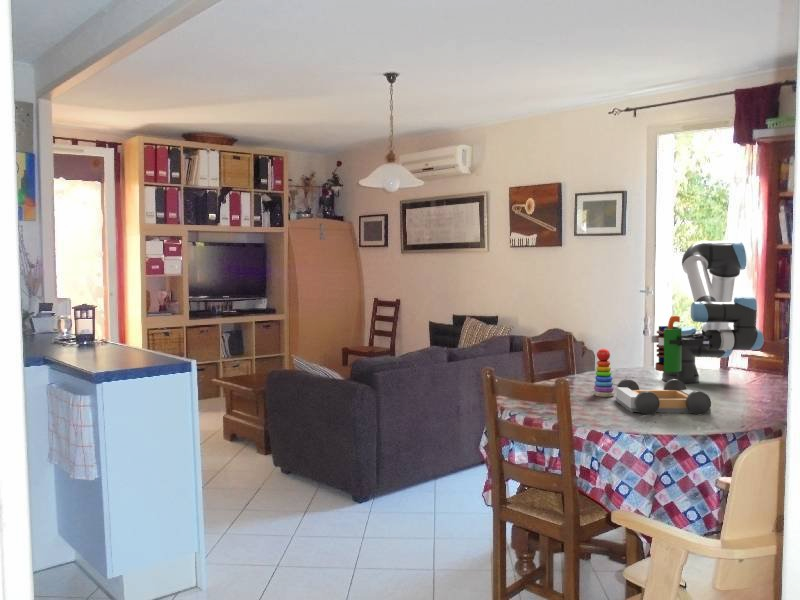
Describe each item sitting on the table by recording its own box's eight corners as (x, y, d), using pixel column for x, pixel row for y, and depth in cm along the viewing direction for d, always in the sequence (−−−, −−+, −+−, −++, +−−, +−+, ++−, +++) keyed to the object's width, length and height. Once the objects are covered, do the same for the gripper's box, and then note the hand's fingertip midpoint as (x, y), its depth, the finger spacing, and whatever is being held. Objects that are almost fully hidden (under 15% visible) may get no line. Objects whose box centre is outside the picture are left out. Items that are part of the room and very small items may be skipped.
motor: (650, 367, 268) (651, 314, 266) (673, 367, 269) (674, 314, 267) (662, 372, 258) (664, 317, 256) (686, 371, 259) (687, 316, 257)
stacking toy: (614, 394, 288) (615, 347, 286) (613, 398, 280) (614, 350, 279) (594, 392, 290) (594, 347, 289) (592, 396, 283) (593, 349, 281)
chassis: (613, 399, 278) (614, 378, 277) (686, 399, 277) (687, 378, 276) (633, 414, 252) (634, 392, 252) (713, 414, 252) (714, 392, 251)
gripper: (729, 354, 253) (664, 354, 253) (706, 346, 272) (645, 346, 273) (730, 333, 252) (665, 333, 252) (706, 326, 272) (646, 326, 272)
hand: (655, 340), depth 262 cm, fingers closed on motor, 7 cm apart
